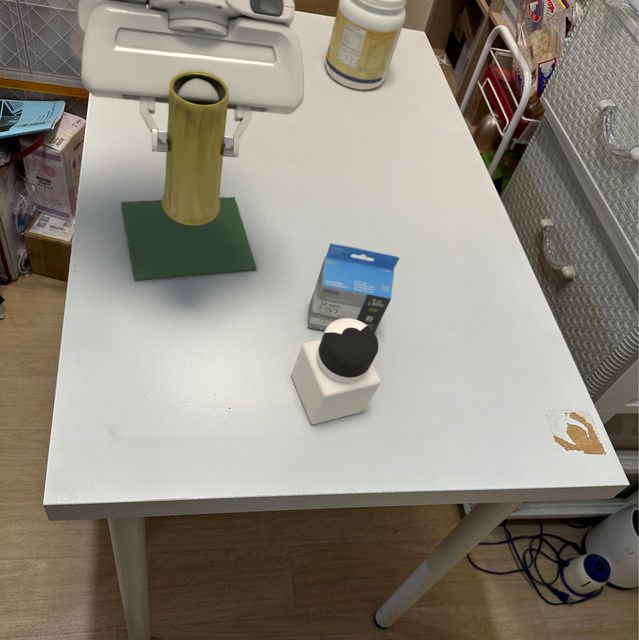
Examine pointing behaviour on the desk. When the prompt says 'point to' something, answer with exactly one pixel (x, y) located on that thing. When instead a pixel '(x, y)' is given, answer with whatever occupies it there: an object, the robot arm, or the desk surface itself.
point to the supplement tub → (364, 41)
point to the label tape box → (352, 287)
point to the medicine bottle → (337, 371)
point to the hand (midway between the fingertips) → (196, 154)
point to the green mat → (185, 242)
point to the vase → (194, 152)
